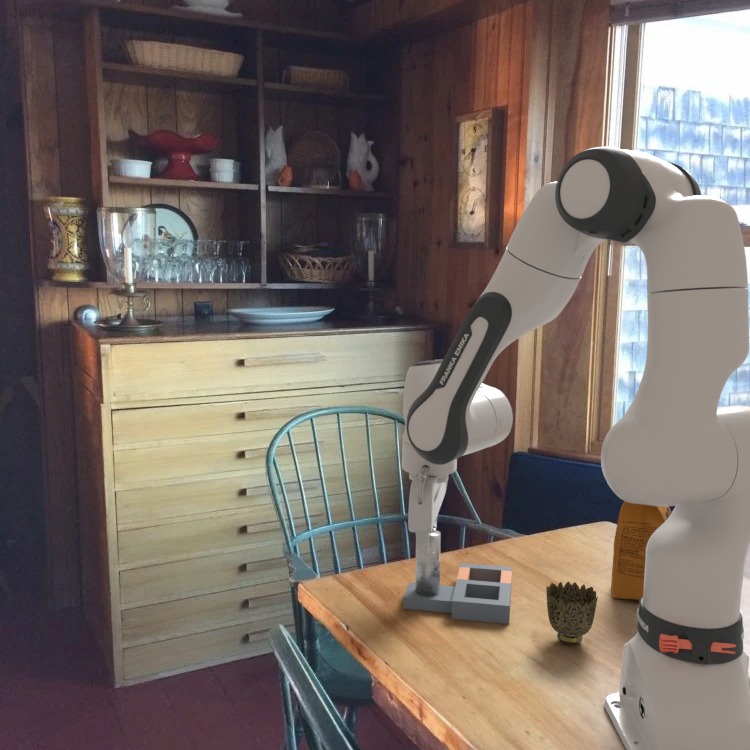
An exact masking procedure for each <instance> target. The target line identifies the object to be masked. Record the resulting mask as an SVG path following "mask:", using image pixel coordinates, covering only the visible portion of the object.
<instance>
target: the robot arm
mask: <svg viewBox="0 0 750 750" xmlns="http://www.w3.org/2000/svg"><path fill="white" fill-rule="evenodd" d="M531 198H532V199H531V200H530V202H529V203H528V204H527V206H526V208H525V209H524V211H523V213H522V214H521V216H520V219H518V222H517V224H516V226H515V228H514V230H513V232H512V233H511V236H510V239H509V241H508V243H507V245H506V248H505V250H504V252H503V255H502V256H501V259H500V261H499V263H498V266H497V268H496V269H495V271H494V272H493V274H492V277H491V279H490V280H489V282H488V284H487V286H486V287H485V289H484V290H483V292H482V293H481V295H480V296H479V297H478V299H476V301H475V303H474V304H473V306H472V307H471V308H470V310H469V311H468V313H467V314H466V316H465V318H464V319H463V322H462V323H461V325H460V327H459V329H458V331H457V332H456V334H455V337H454V338H453V340H452V342H451V344H450V345H449V348H448V349H447V352H446V354H445V356H444V358H439V359H438V358H437V359H432V360H431V359H430V360H423V361H418V362H414V363H413V364H412V365H410V367H409V368H408V370H407V372H406V376H405V380H404V387H403V398H402V400H403V401H402V402H403V403H402V415H403V418H404V424H405V425H404V431H403V434H402V448H401V451H402V452H401V469H402V470H403V471H404V472H406V473H409V474H408V475H409V476H408V477H409V480H411V481H412V482H411V485H410V489H409V498H408V513H407V514H408V516H407V518H408V519H407V520H408V521H407V527H408V531H409V532H410V533H414V534H415V539H416V538H417V551H418V552H422V553H427V552H428V550H429V543H430V539H429V534H430V533H431V531H432V529H433V530H437V527H438V526H437V525H438V515H439V512H440V510H441V507H442V504H443V501H444V498H445V495H446V493H447V487H448V482H449V477H450V475H451V474H453V473H455V472H456V471H457V469H458V467H457V465H458V463H457V462H458V459H459V458H460V457H463V456H466V455H469V454H473V453H476V452H480V451H481V450H484V449H488V448H490V447H493V446H495V445H498V444H500V443H503V441H505V440H506V439H507V438H508V437H509V435H510V433H511V431H512V429H513V425H514V411H513V407H512V404H511V401H510V399H509V398H508V397H507V394H505V393H504V392H503V391H502V390H501V389H499V388H497V387H495V386H491V385H488V384H485V383H483V382H484V380H485V378H486V376H487V374H488V372H489V371H490V369H491V367H492V365H493V363H494V361H495V360H496V358H498V356H499V355H500V354H501V353H502V352H503V350H504V349H506V348H507V347H508V346H509V345H511V344H512V343H514V342H515V341H516V340H518V339H520V338H521V337H523V336H525V335H527V334H528V333H530V332H532V331H534V330H536V329H538V328H540V327H543V326H545V325H546V324H548V323H550V322H552V321H553V320H555V319H556V318H557V317H559V315H560V314H561V313H562V311H563V310H564V308H565V307H566V306H567V304H568V303H569V302H570V300H571V299H572V297H573V295H574V293H575V291H576V290H577V287H578V285H579V283H580V280H581V279H582V276H583V274H584V271H585V270H586V267H587V265H588V263H589V260H590V258H591V256H592V254H593V253H594V251H595V250H596V249H597V247H599V245H601V244H602V243H604V242H605V241H612V242H616V243H621V244H629V245H631V244H634V245H636V246H637V247H638V248H639V249H640V250H641V252H642V253H643V256H644V260H645V264H646V277H647V278H646V282H647V283H646V284H647V286H646V287H647V288H646V290H647V291H646V292H647V293H646V294H647V346H646V347H647V350H646V359H645V366H644V371H643V373H642V377H641V380H640V382H639V383H640V384H639V386H638V389H637V391H636V393H635V396H634V397H633V400H632V402H631V404H630V405H629V407H628V409H627V410H626V412H625V413H624V414H623V416H622V417H621V418H620V419H619V420H618V421H617V422H616V423H615V424H614V425H613V426H612V427H610V429H609V430H608V431H607V432H606V435H605V437H604V440H603V441H602V444H601V445H602V446H601V451H600V464H601V465H600V466H601V471H602V473H603V477H604V479H605V481H606V483H607V485H608V486H609V488H610V489H611V490H612V492H613V493H614V494H615V495H616V497H618V498H619V499H620V500H622V501H623V502H624V501H626V502H629V503H633V504H641V505H648V506H661V507H669V508H670V507H674V508H673V510H671V515H670V516H669V517H668V519H667V520H666V521H665V522H664V523H663V524H662V525H661V526H660V527H659V528H658V529H657V530H656V531H655V532H654V533H653V534H652V535H651V537H650V539H649V541H648V543H647V546H646V557H645V573H644V589H643V597H642V598H641V599H640V601H639V600H638V608H637V613H636V618H637V625H636V626H637V633H636V634H635V635H634V636H633V637H632V638H630V640H628V641H627V642H626V643H625V644H624V645H623V648H622V649H623V651H622V657H621V658H622V659H621V660H622V661H621V670H620V680H619V690H618V692H614V693H611V694H609V695H606V697H605V698H604V699H605V700H604V705H603V707H604V709H605V710H606V712H607V714H608V716H609V718H610V720H611V723H612V724H613V727H614V728H615V730H616V732H617V734H618V736H619V739H621V742H622V744H623V746H624V747H625V750H750V676H749V666H750V665H749V664H750V663H749V662H750V656H749V655H748V654H747V653H746V652H745V651H744V638H745V628H744V621H743V615H742V613H741V600H742V590H743V582H744V574H745V566H746V560H747V555H748V552H749V548H750V406H748V405H740V404H737V405H735V404H734V405H726V406H725V405H723V406H719V403H720V398H721V396H722V392H723V390H724V388H725V385H726V384H727V381H728V380H729V378H730V377H731V375H732V374H733V373H734V372H735V371H737V370H738V369H739V368H740V367H741V366H742V365H743V364H744V362H746V359H747V358H748V356H749V352H750V320H749V319H750V317H749V315H750V314H749V313H750V312H749V310H750V309H749V289H748V288H749V283H748V266H747V256H746V249H745V243H744V238H743V233H742V229H741V225H740V221H739V216H738V214H737V212H736V210H735V209H734V207H733V206H732V205H731V204H730V203H728V202H727V201H725V200H723V199H720V198H718V197H713V196H711V195H710V196H709V195H702V192H701V189H700V185H699V184H698V182H697V180H696V178H694V177H693V175H692V174H691V173H690V172H689V171H688V170H686V169H685V168H684V167H682V166H680V165H678V164H677V163H674V162H671V161H670V162H669V161H665V160H662V159H661V158H658V157H656V156H654V155H651V154H650V153H647V152H642V151H638V150H630V149H621V148H619V147H616V146H596V147H592V148H588V149H585V150H583V151H581V152H578V153H577V154H575V155H573V157H571V158H570V159H569V160H568V161H567V163H565V165H564V166H563V168H561V171H560V174H559V175H558V177H557V181H551V182H548V183H546V184H544V185H542V186H541V187H540V188H539V189H538V190H537V191H536V192H535V194H534V195H533V197H531Z"/></svg>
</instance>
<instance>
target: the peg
mask: <svg viewBox="0 0 750 750" xmlns="http://www.w3.org/2000/svg"><path fill="white" fill-rule="evenodd" d="M441 533H442V532H441V531H439V530H437V529H436V530H433V529H432V531H431V533H430V534H429V539H430V543H429V550H428V552H427V553H422V552H418V551H417V538H416V537H415V573H414V574H415V579H414V580H415V581H414V583H415V592H416V593H417V594H418V595H421V596H426V597H431V596H436V595H438V594H439V592H440V585H441V582H440V581H441V543H442V542H441V537H442V536H441V535H442V534H441Z"/></svg>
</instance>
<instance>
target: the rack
mask: <svg viewBox="0 0 750 750" xmlns="http://www.w3.org/2000/svg"><path fill="white" fill-rule="evenodd" d="M512 583H513V566H503V565H502V566H501V565H489V564H479V563H475V564H474V563H468V562H467V563H463V562H460V565H459V568H458V573H457V576H456V582H455V585H454V586H453V585H444V584H443V585H442V584H440V592H439V594H438V595H436V596H431V597H426V596H421V595H418V594H417V593H416V592H415V582H408V584H407V588H406V590H405V593H404V595H403V599H402V600H403V602H402V603H403V607H402V608H403V610H413V611H422V612H423V611H424V612H432V613H433V612H434V613H436V612H437V613H446V614H451V616H450V617H451V620H461V621H470V622H471V621H472V622H481V623H493V624H504V625H510V617H511V616H510V615H511V601H512V598H511V597H512V587H513V584H512Z"/></svg>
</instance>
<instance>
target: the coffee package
mask: <svg viewBox="0 0 750 750" xmlns="http://www.w3.org/2000/svg"><path fill="white" fill-rule="evenodd" d="M671 513H672V510H671V508H670V506H669V507H661V506H648V505H641V504H633V503H629V502H626V501H624V500H623V503H622V505H621V507H620V510H619V513H618V518H617V525H616V530H615V534H614V540H613V555H612V556H613V557H612V558H613V559H612V570H611V579H610V580H611V581H610V582H611V584H610V594H611V597H613V598H614V599H617V600H620V599H623V600H636V601H638V602H639V601H640V599H641V598H642V597H643V589H644V573H645V557H646V546H647V543H648V541H649V539H650V537H651V535H652V534H653V533H654V532H655V531H656V530H657V529H658V528H659V527H660V526H661V525H662V524H663V523H664V522H665V521H666V520H667V519H668V517H669V516H670V515H671Z"/></svg>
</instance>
